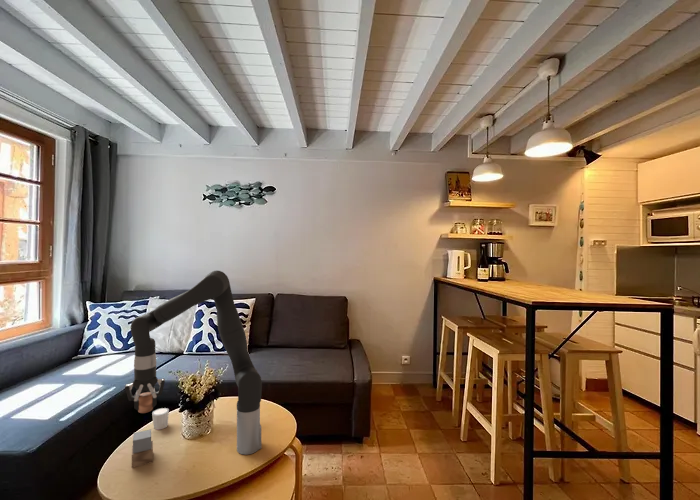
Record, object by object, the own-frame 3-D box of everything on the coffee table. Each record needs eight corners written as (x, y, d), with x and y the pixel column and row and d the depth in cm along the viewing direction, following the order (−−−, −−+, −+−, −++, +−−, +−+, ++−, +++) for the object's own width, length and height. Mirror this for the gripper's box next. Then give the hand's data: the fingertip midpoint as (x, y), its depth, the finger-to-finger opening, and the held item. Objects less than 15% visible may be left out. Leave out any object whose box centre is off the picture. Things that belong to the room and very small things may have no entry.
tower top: (151, 441, 144) (151, 429, 144) (151, 449, 138) (150, 436, 138) (133, 445, 141) (133, 433, 141) (133, 453, 136) (132, 440, 135)
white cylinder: (162, 431, 160) (161, 415, 160) (148, 429, 161) (148, 414, 161) (172, 423, 167) (172, 408, 166) (159, 421, 168) (159, 407, 168)
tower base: (152, 452, 144) (152, 440, 144) (153, 462, 138) (152, 449, 138) (132, 457, 141) (132, 445, 141) (131, 468, 135) (131, 455, 135)
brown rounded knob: (152, 405, 145) (152, 391, 144) (152, 411, 140) (153, 396, 140) (138, 408, 142) (138, 393, 142) (138, 414, 138) (138, 398, 138)
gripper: (165, 359, 147) (165, 400, 148) (124, 365, 140) (124, 407, 141) (166, 365, 140) (166, 408, 141) (122, 371, 134) (123, 416, 134)
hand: (145, 407), depth 141 cm, fingers closed on brown rounded knob, 5 cm apart
